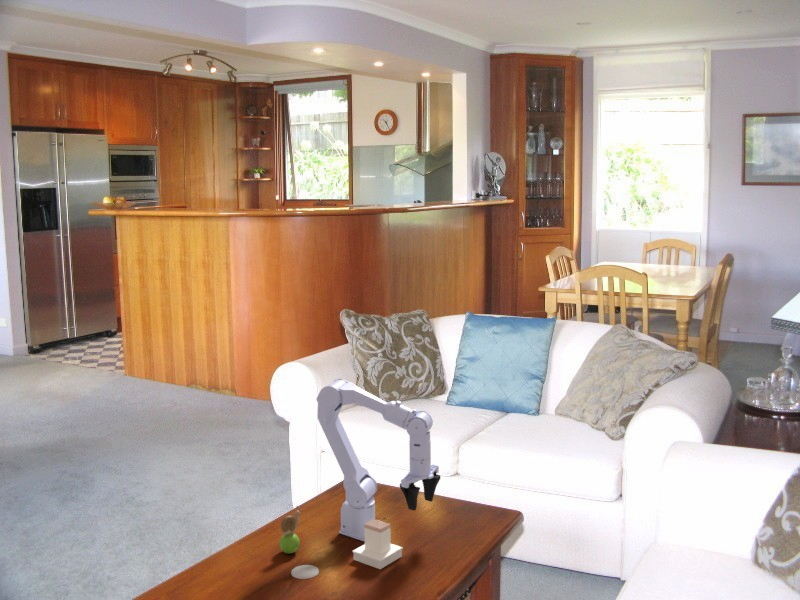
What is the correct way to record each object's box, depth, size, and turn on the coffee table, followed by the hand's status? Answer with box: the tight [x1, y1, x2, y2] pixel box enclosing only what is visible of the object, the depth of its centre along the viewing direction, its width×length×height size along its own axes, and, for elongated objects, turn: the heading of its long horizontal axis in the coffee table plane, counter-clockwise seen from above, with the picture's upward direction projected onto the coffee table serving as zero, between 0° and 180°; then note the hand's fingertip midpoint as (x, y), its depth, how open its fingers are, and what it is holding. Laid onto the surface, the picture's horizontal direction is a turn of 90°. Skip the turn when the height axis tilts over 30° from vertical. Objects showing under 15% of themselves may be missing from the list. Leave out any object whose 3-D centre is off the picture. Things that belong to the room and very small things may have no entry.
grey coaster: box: [290, 564, 320, 580], centre depth 212 cm, size 7×7×1 cm
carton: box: [364, 518, 392, 555], centre depth 218 cm, size 6×4×7 cm
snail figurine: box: [278, 505, 301, 554], centre depth 222 cm, size 5×6×12 cm
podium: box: [351, 543, 404, 570], centre depth 219 cm, size 9×9×2 cm
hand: (420, 504), depth 227 cm, fingers open, 7 cm apart
